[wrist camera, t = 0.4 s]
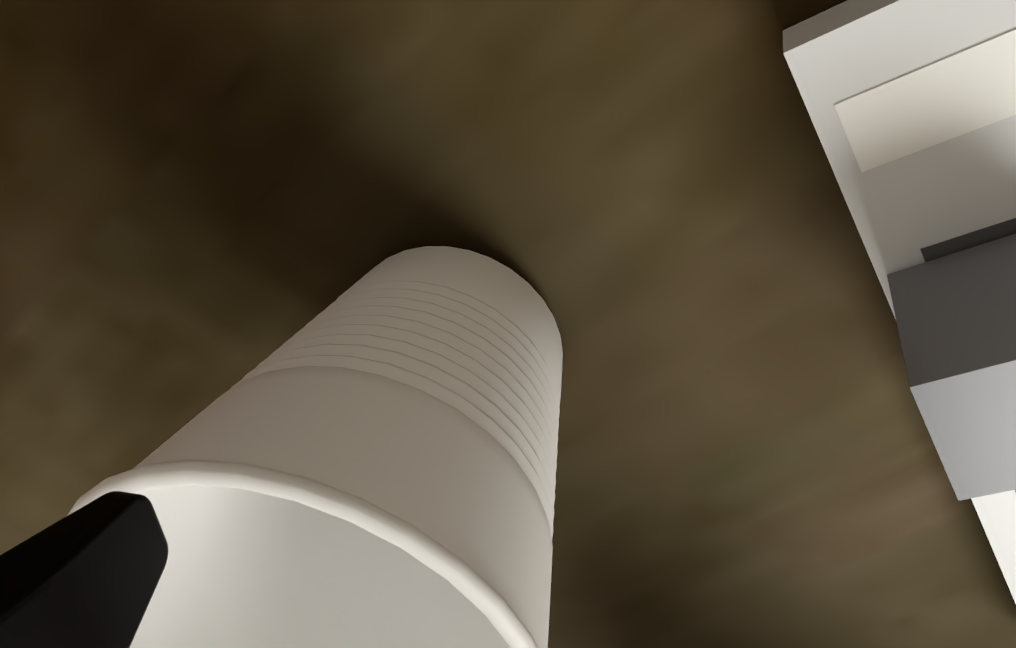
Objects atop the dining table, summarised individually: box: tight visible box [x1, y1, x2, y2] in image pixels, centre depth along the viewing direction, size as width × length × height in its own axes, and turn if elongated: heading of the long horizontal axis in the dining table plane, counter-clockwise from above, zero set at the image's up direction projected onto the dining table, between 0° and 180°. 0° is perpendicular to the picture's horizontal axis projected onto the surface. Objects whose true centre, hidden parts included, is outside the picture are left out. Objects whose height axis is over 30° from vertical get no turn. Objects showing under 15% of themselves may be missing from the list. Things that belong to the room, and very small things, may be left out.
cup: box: [67, 246, 563, 648], centre depth 21 cm, size 10×10×11 cm
